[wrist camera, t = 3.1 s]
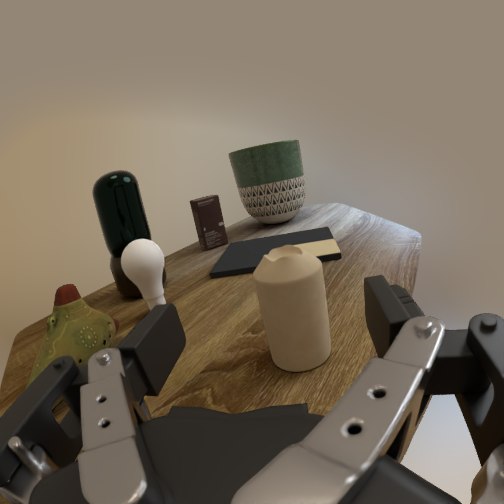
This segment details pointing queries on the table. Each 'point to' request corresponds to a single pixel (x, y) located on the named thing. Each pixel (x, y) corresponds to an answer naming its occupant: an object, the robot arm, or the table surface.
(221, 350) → the table surface
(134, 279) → the lightbulb
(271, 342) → the candle
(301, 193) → the planter
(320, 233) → the mat
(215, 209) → the box
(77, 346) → the ocarina
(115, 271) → the lamp
